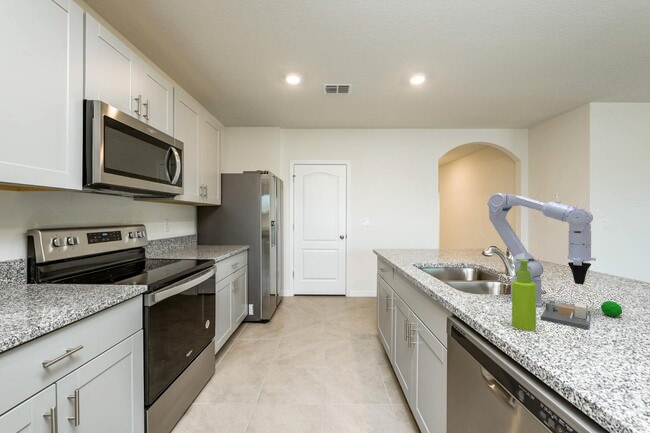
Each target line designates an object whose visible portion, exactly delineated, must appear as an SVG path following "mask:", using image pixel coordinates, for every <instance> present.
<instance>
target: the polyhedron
mask: <svg viewBox="0 0 650 433" xmlns="http://www.w3.org/2000/svg"><path fill="white" fill-rule="evenodd" d="M600 308H601V309H600V310H601V312H602V313H603V314H604V315H606V316H608V317H610V318H616V317H620V316H621V315H622V313H623V309H622V306H621V305H620V304H619V303H617V302H616V301H612V300H607V301H604V302H603V303H601V305H600Z"/></svg>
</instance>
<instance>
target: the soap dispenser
mask: <svg viewBox="0 0 650 433" xmlns="http://www.w3.org/2000/svg"><path fill="white" fill-rule="evenodd" d="M516 261H520V269H519V270H517V273H516V277H517V281H512V301H511V325H512V327H514V328H516V329H520V330H524V331H530V332H531V331H535V330H537V305H536V284H535V283H532V282H531V272H530V271H529V270H527V263H529V261H528V260H526V259H516Z"/></svg>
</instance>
